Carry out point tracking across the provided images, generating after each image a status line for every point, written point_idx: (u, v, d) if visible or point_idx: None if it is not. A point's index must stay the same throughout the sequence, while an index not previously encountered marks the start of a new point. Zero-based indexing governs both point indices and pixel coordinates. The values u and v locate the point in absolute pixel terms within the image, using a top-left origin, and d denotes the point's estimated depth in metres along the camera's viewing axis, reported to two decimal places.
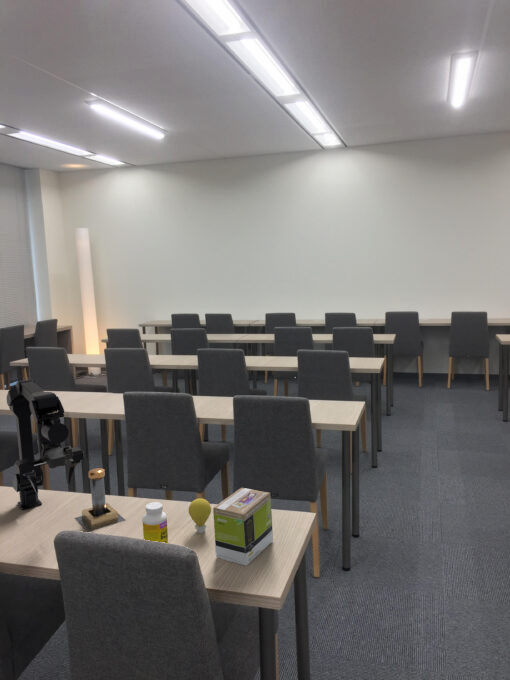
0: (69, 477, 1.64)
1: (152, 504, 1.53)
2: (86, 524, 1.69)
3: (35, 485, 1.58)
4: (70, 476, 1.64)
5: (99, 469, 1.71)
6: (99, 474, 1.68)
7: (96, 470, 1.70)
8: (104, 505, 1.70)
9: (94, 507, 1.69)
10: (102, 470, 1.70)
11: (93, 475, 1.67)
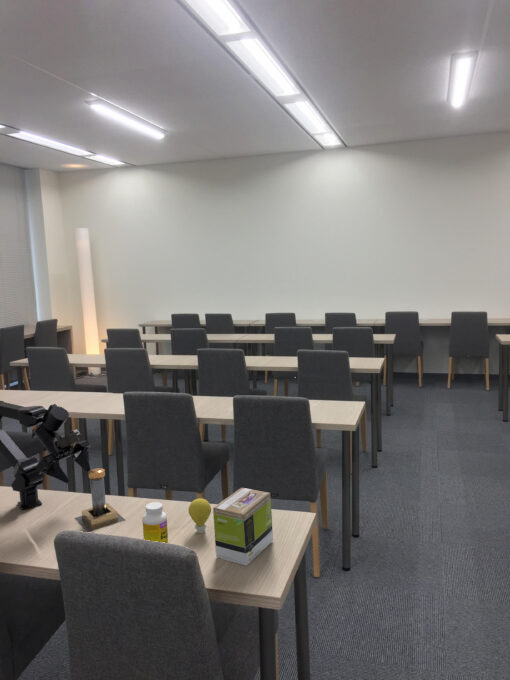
0: (87, 464, 1.78)
1: (152, 504, 1.53)
2: (86, 524, 1.69)
3: (64, 474, 1.69)
4: (87, 463, 1.78)
5: (99, 469, 1.71)
6: (99, 474, 1.68)
7: (96, 470, 1.70)
8: (104, 505, 1.70)
9: (94, 507, 1.69)
10: (102, 470, 1.70)
11: (93, 475, 1.67)
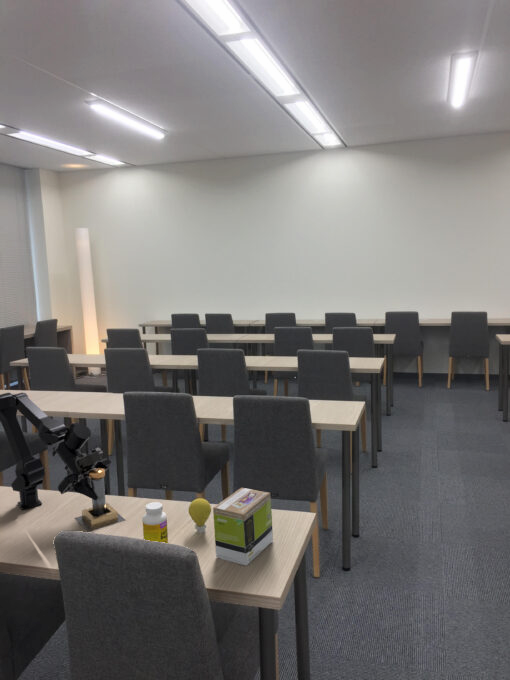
0: None
1: (152, 504, 1.53)
2: (86, 524, 1.69)
3: (92, 491, 1.68)
4: (104, 485, 1.73)
5: (100, 469, 1.71)
6: (99, 474, 1.68)
7: (96, 470, 1.70)
8: (104, 505, 1.70)
9: (94, 507, 1.69)
10: (102, 470, 1.70)
11: (93, 475, 1.67)
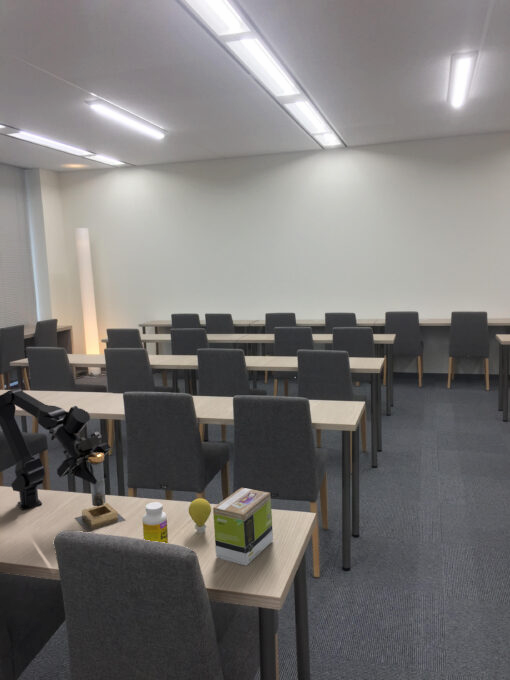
0: None
1: (152, 504, 1.53)
2: (86, 524, 1.69)
3: (91, 475, 1.67)
4: (103, 469, 1.72)
5: (99, 453, 1.70)
6: (98, 458, 1.67)
7: (95, 454, 1.70)
8: (103, 489, 1.70)
9: (93, 491, 1.69)
10: (101, 454, 1.69)
11: (92, 459, 1.67)
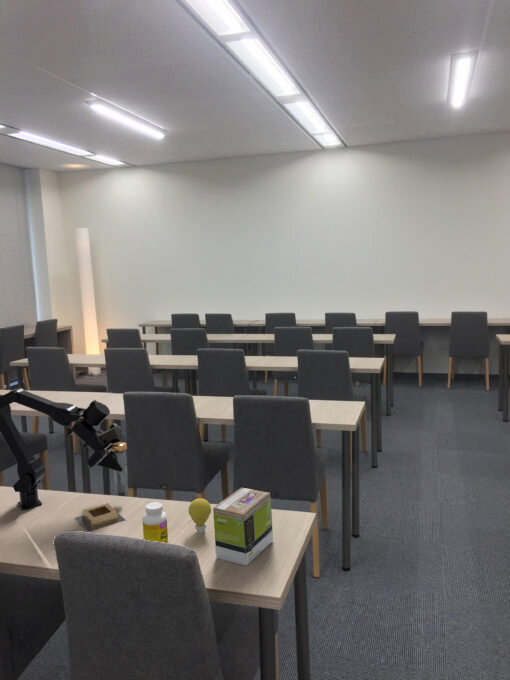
0: None
1: (152, 504, 1.53)
2: (86, 524, 1.69)
3: (117, 463, 1.78)
4: None
5: (120, 442, 1.81)
6: (124, 446, 1.78)
7: (117, 443, 1.80)
8: (126, 476, 1.81)
9: (118, 478, 1.79)
10: (124, 443, 1.80)
11: (118, 448, 1.77)
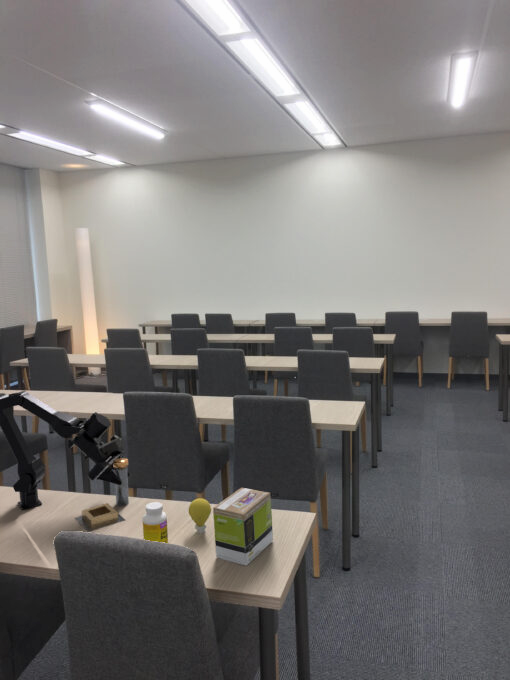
0: None
1: (152, 504, 1.53)
2: (86, 524, 1.69)
3: (117, 477, 1.77)
4: None
5: (121, 459, 1.82)
6: (125, 463, 1.79)
7: (119, 460, 1.81)
8: None
9: (119, 495, 1.80)
10: (125, 459, 1.81)
11: (120, 464, 1.78)
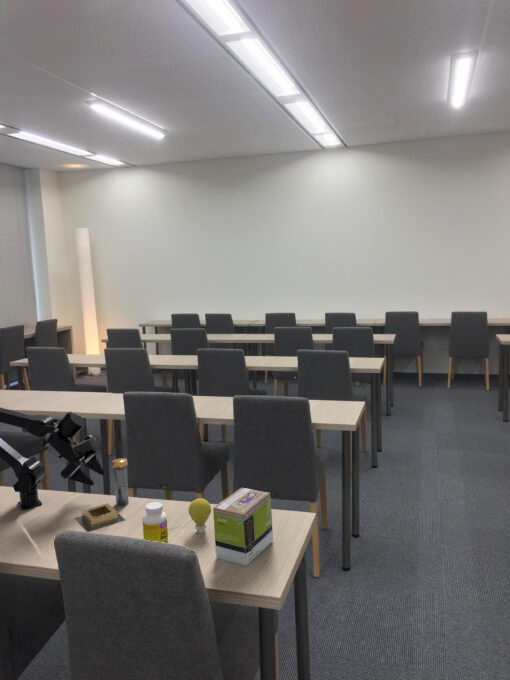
0: (101, 467, 1.87)
1: (152, 504, 1.53)
2: (86, 524, 1.69)
3: (89, 477, 1.77)
4: (101, 466, 1.87)
5: (120, 459, 1.82)
6: (124, 463, 1.79)
7: (118, 460, 1.81)
8: (127, 492, 1.82)
9: (119, 495, 1.80)
10: (124, 459, 1.81)
11: (119, 464, 1.78)
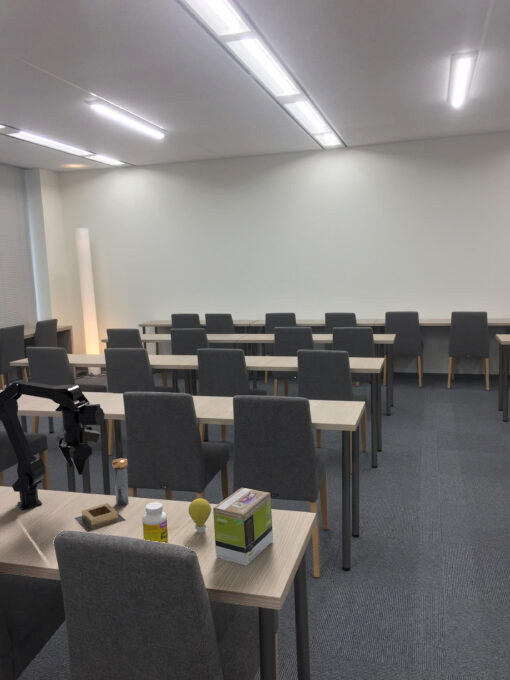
0: None
1: (152, 504, 1.53)
2: (86, 524, 1.69)
3: None
4: None
5: (120, 459, 1.82)
6: (124, 463, 1.79)
7: (118, 460, 1.81)
8: (127, 492, 1.82)
9: (119, 495, 1.80)
10: (124, 459, 1.81)
11: (119, 464, 1.78)
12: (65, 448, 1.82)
